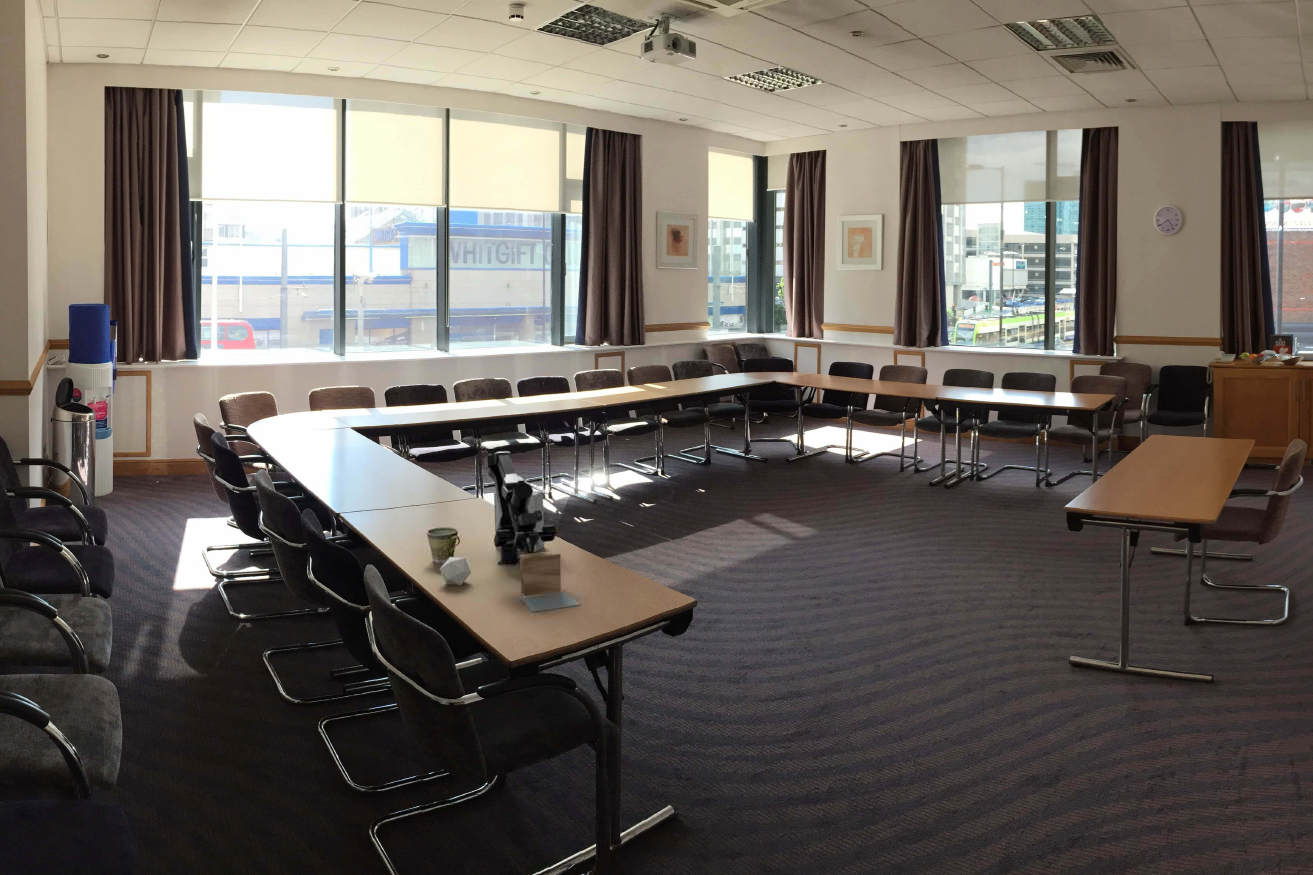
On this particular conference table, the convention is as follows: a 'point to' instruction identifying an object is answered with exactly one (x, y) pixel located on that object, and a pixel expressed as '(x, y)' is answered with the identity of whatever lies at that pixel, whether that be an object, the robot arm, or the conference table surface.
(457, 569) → the die
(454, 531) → the ceramic cup
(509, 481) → the robot arm
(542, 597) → the felt mat
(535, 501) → the hard drive box
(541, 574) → the walnut slab
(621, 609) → the conference table surface
